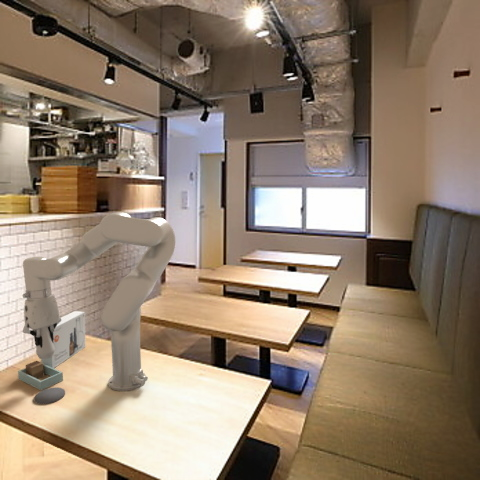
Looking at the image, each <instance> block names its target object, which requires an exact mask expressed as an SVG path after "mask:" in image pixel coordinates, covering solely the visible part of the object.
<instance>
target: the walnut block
mask: <svg viewBox="0 0 480 480" xmlns="http://www.w3.org/2000/svg"><path fill="white" fill-rule="evenodd" d="M25 368H26V374H28V375H30V376H32V377H34V378H36V379H38V380H40V379H41V378H44V376H45V373H44V371H43V363H41V361H38V360H34V361H32V362H29V363H27V364H25Z"/></svg>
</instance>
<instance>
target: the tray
mask: <svg viewBox="0 0 480 480" xmlns="http://www.w3.org/2000/svg"><path fill="white" fill-rule="evenodd" d="M43 371H44V375H47V376H49V377H47V378H44V379H42V380H40V379H36V378H34V377H32V376H30V375H28V374H26V367H25V368H23V369H20V370H18V371H17V374H18V376H17V377H18V380H19V381H21V382H23V383H26V384H28V385H30V386H31V387H34V389H35V388H36V389H37V390H39V391H43V390H45V389H48V388H49V387H50V388H51V387H52V386H54V385H55V384H58V383H60V382H62V381H64V375H63V374H64V373H63V372H62V371H60V370H58V369H56V368H52V367H49V366H47V365H45V364H43Z"/></svg>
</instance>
